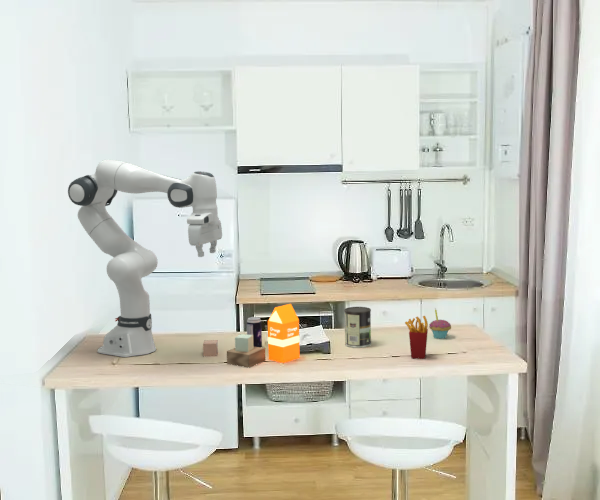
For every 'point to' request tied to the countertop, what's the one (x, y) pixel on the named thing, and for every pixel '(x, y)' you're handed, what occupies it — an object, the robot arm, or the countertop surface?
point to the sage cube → (244, 343)
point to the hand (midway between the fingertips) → (206, 254)
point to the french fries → (418, 338)
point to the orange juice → (283, 334)
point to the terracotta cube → (210, 348)
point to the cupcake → (439, 327)
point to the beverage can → (255, 330)
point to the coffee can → (357, 327)
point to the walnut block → (246, 357)
